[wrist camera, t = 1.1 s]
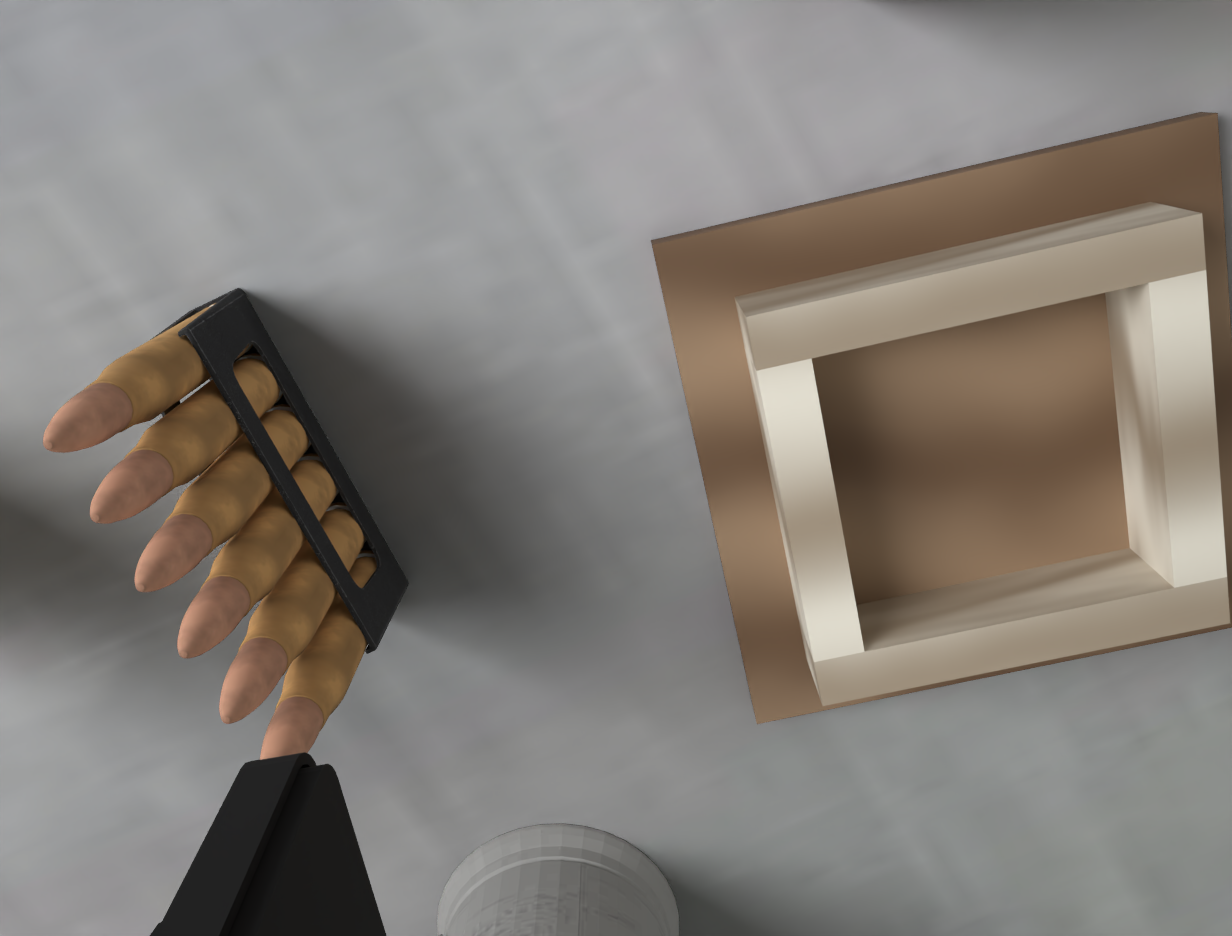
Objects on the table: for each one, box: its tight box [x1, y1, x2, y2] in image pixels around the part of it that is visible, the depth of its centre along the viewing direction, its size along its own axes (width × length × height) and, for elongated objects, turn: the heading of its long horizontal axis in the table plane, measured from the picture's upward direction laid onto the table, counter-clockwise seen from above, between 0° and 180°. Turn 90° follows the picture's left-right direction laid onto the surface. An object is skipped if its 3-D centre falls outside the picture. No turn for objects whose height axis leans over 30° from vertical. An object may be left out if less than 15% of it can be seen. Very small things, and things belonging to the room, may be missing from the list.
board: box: [651, 112, 1232, 724], centre depth 34 cm, size 16×16×4 cm
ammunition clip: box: [43, 288, 408, 760], centre depth 30 cm, size 11×2×12 cm, turn 25°
